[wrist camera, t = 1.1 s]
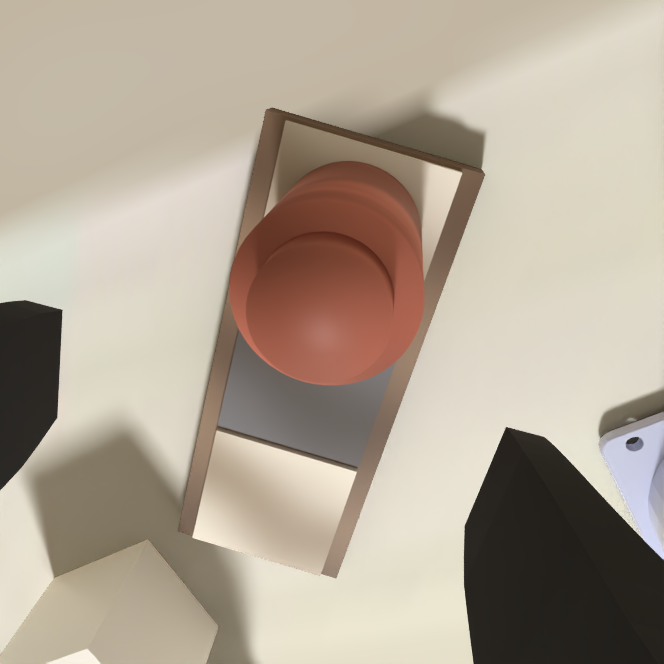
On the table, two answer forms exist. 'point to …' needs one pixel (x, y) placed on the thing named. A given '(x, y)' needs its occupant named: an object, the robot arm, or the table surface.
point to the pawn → (332, 276)
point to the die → (115, 616)
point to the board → (306, 398)
